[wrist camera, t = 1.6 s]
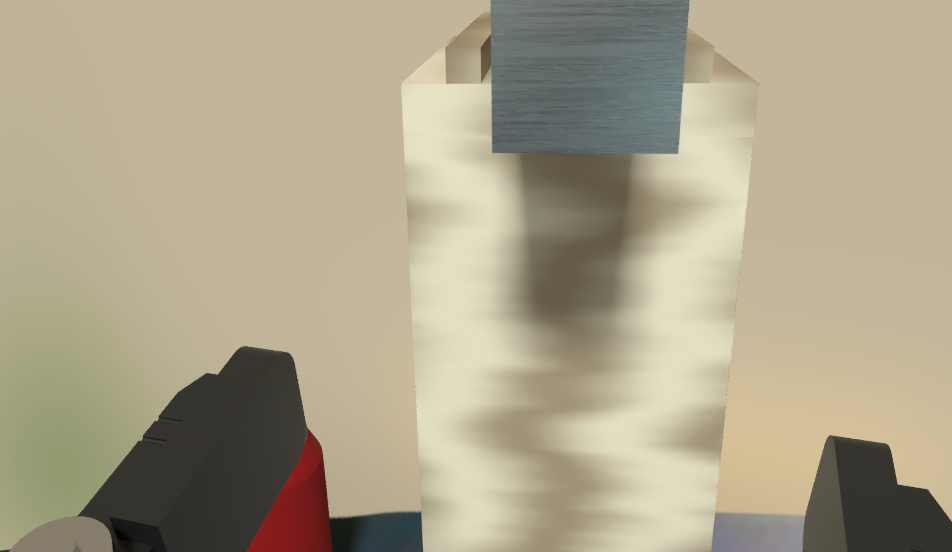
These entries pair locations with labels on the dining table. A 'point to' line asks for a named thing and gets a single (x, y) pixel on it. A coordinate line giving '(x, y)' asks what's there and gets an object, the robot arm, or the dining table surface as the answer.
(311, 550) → the beverage can
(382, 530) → the dining table surface
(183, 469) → the robot arm
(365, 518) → the dining table surface
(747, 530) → the dining table surface
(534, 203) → the beige patterned box
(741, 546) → the dining table surface
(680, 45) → the gray block
